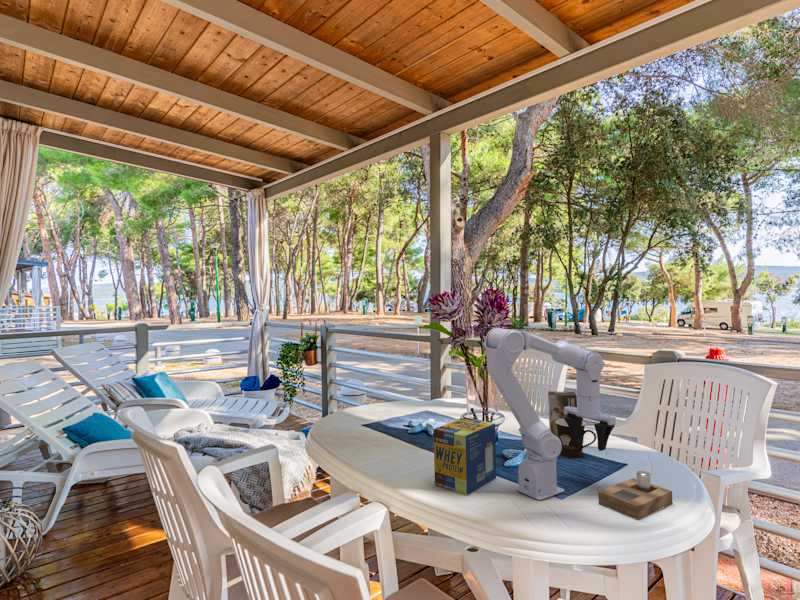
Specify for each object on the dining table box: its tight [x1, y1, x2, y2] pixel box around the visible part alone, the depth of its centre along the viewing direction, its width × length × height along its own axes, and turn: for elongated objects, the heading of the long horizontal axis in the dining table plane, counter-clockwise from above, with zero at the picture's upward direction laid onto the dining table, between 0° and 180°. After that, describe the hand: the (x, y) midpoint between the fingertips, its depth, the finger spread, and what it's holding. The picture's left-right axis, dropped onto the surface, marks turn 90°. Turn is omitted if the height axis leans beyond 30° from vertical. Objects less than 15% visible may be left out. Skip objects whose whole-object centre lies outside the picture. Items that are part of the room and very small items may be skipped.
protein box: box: [433, 417, 497, 496], centre depth 131 cm, size 10×15×16 cm
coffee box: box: [547, 390, 577, 437], centre depth 166 cm, size 9×6×16 cm
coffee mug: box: [556, 419, 597, 459], centre depth 149 cm, size 12×9×10 cm
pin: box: [636, 470, 652, 493], centre depth 117 cm, size 3×3×6 cm
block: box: [597, 477, 673, 520], centre depth 115 cm, size 14×10×3 cm
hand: (589, 446), depth 128 cm, fingers open, 7 cm apart
